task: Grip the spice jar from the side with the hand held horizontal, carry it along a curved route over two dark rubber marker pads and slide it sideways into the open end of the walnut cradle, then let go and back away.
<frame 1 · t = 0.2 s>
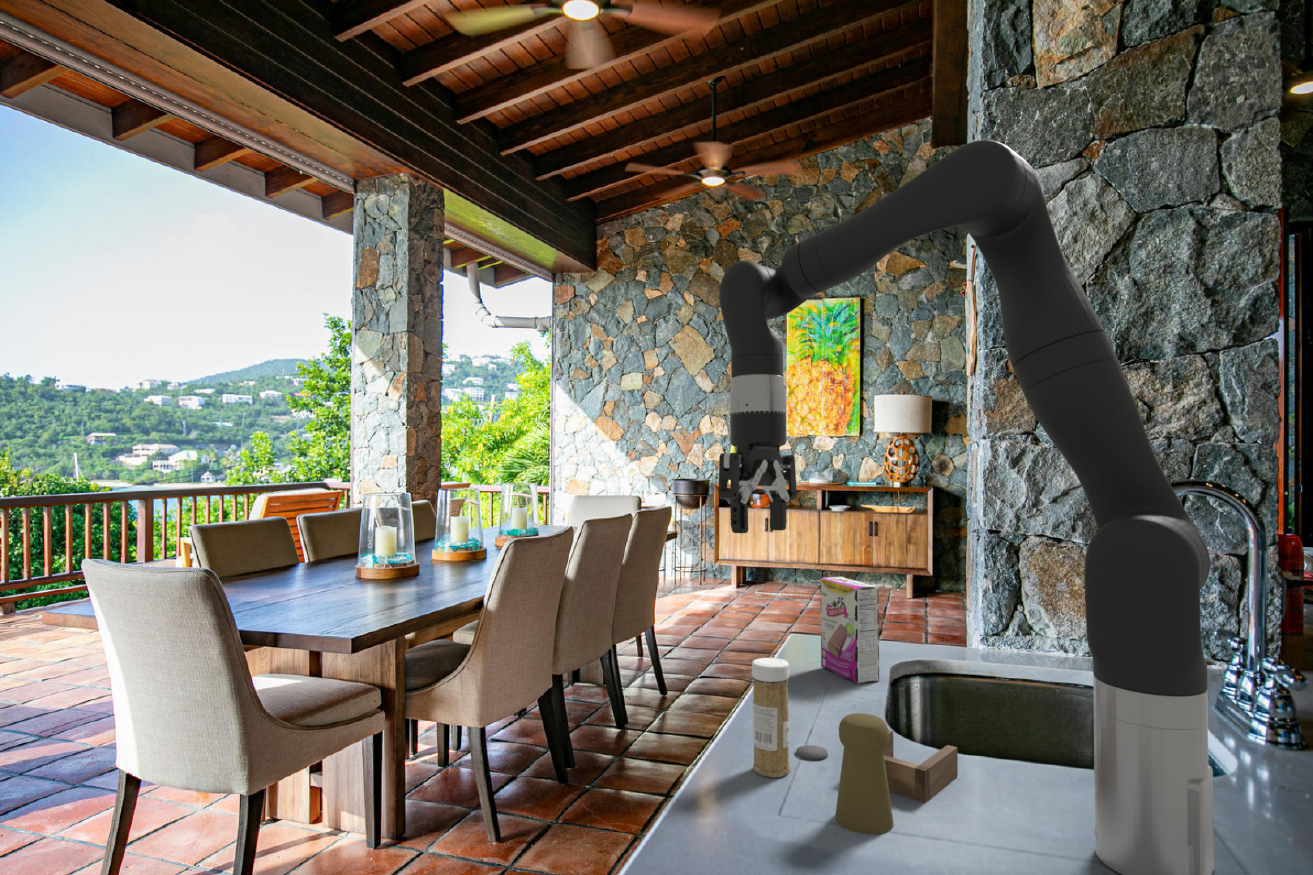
hand: (759, 531, 104), 29 cm above the counter, tool pointing down, fingers open, 8 cm apart
cradle: (903, 777, 94), on the counter
candy bar box: (849, 675, 137), on the counter
marker pad 2: (869, 750, 102), on the counter
cork: (864, 822, 83), on the counter
marker pad 1: (812, 754, 101), on the counter
spice jar: (771, 772, 96), on the counter
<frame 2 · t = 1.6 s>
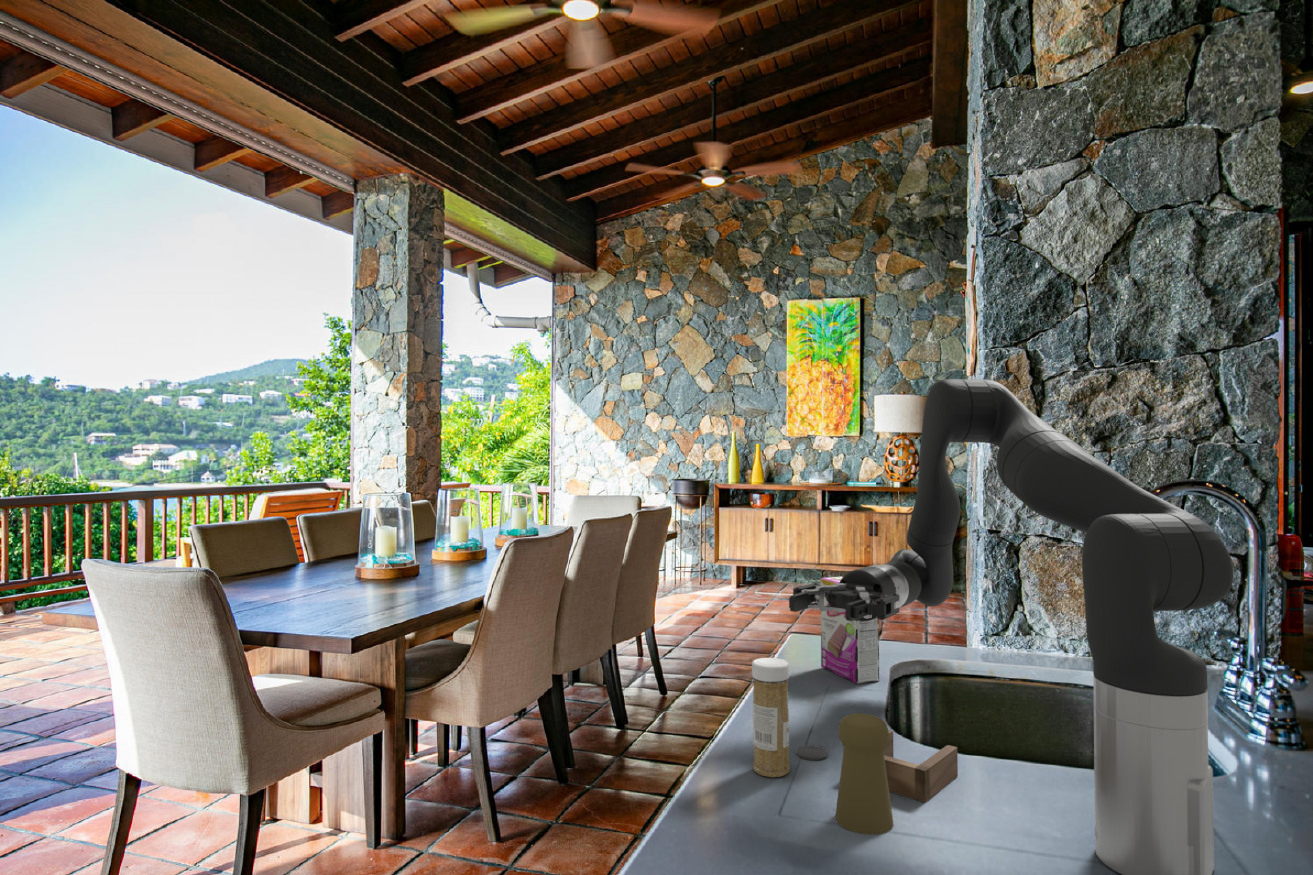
hand: (819, 608, 105), 18 cm above the counter, tool horizontal, fingers open, 8 cm apart
nothing on the counter moved.
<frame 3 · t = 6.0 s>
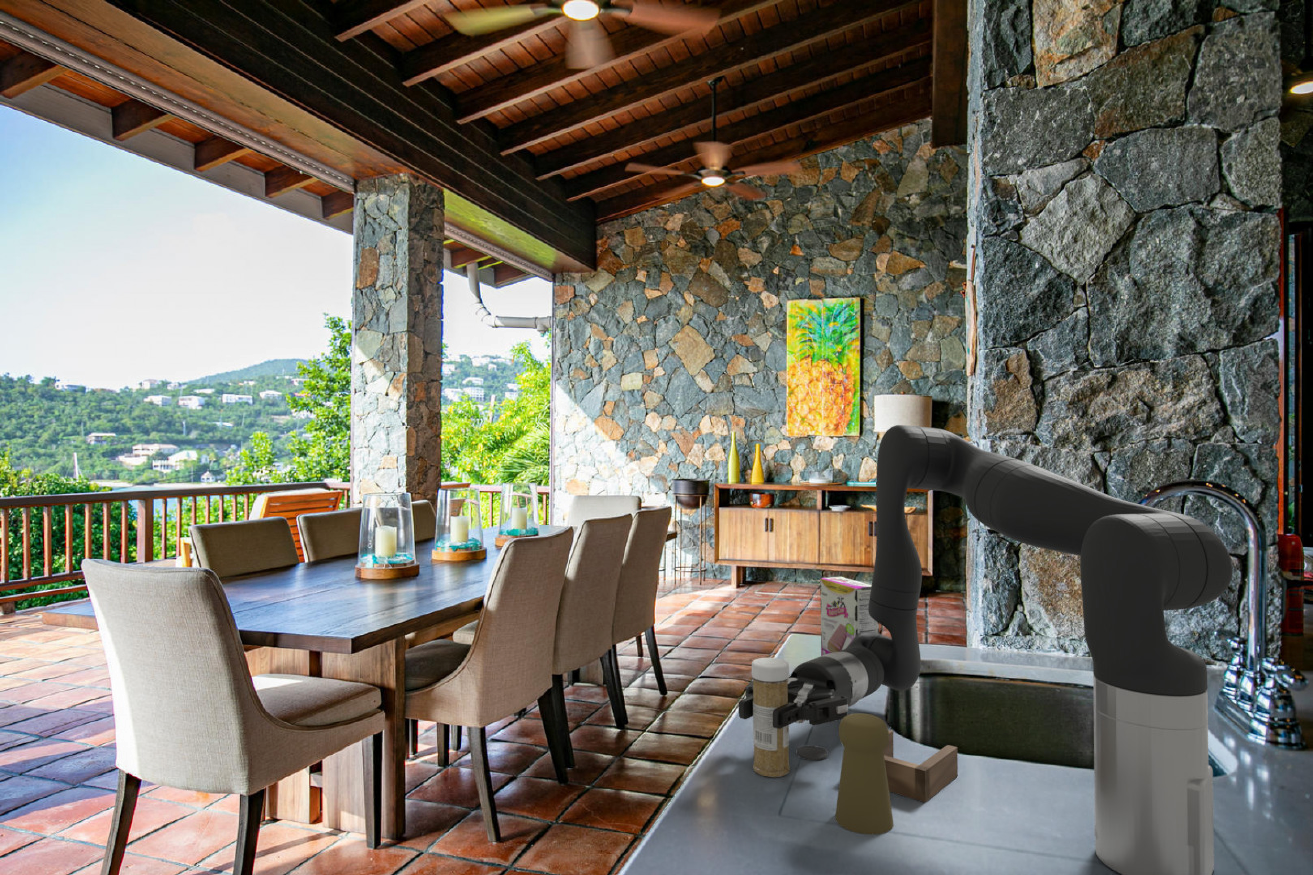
hand: (758, 714, 94), 8 cm above the counter, tool horizontal, fingers closed on spice jar, 4 cm apart
spice jar: (771, 772, 96), on the counter, touching gripper
everything else where it was.
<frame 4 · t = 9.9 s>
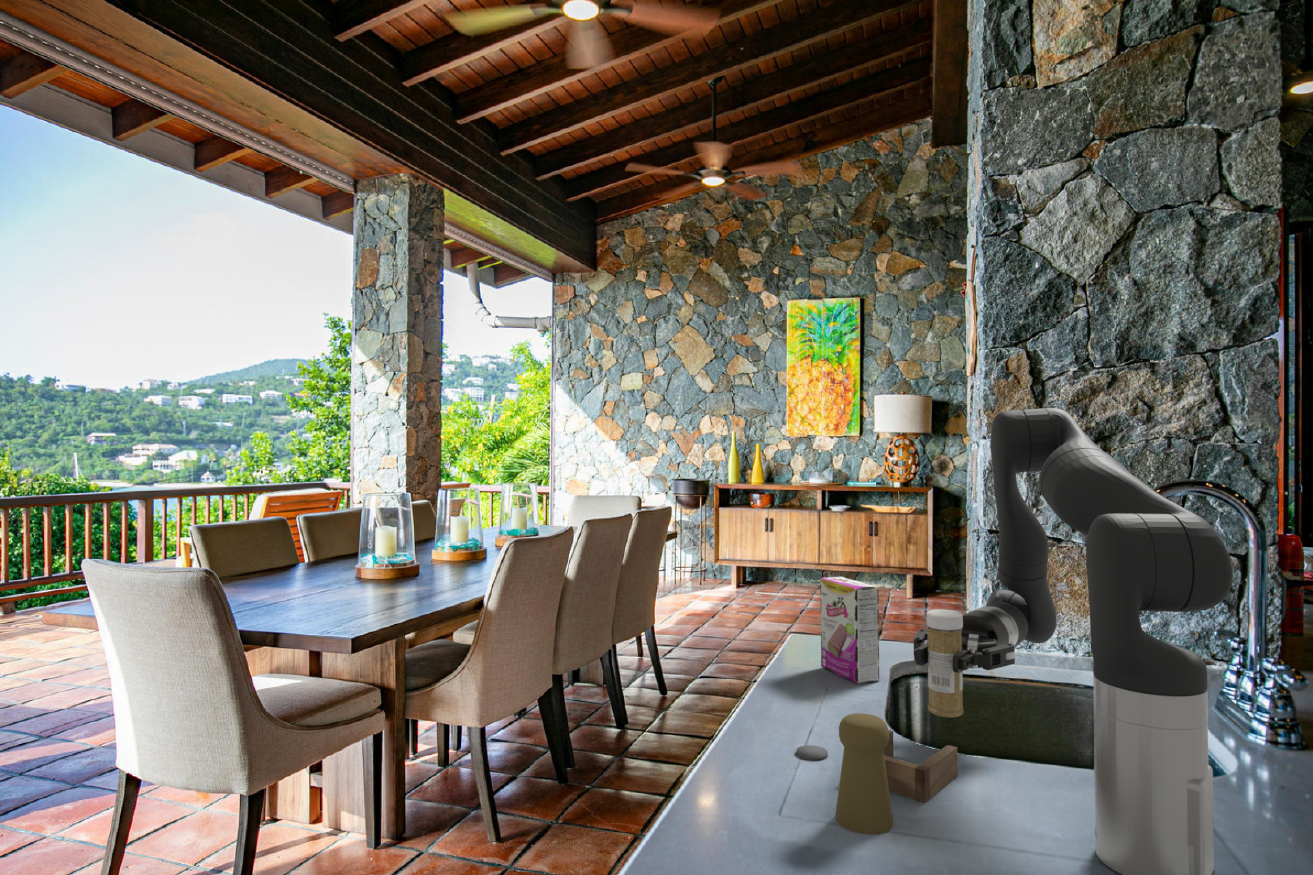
hand: (937, 661, 102), 12 cm above the counter, tool horizontal, fingers closed on spice jar, 4 cm apart
spice jar: (945, 713, 104), point 4 cm above the counter, touching gripper
everything else where it was.
when the fingers open (8 cm above the counter, at t = 13.9 s): spice jar stays where it is, resting in cradle.
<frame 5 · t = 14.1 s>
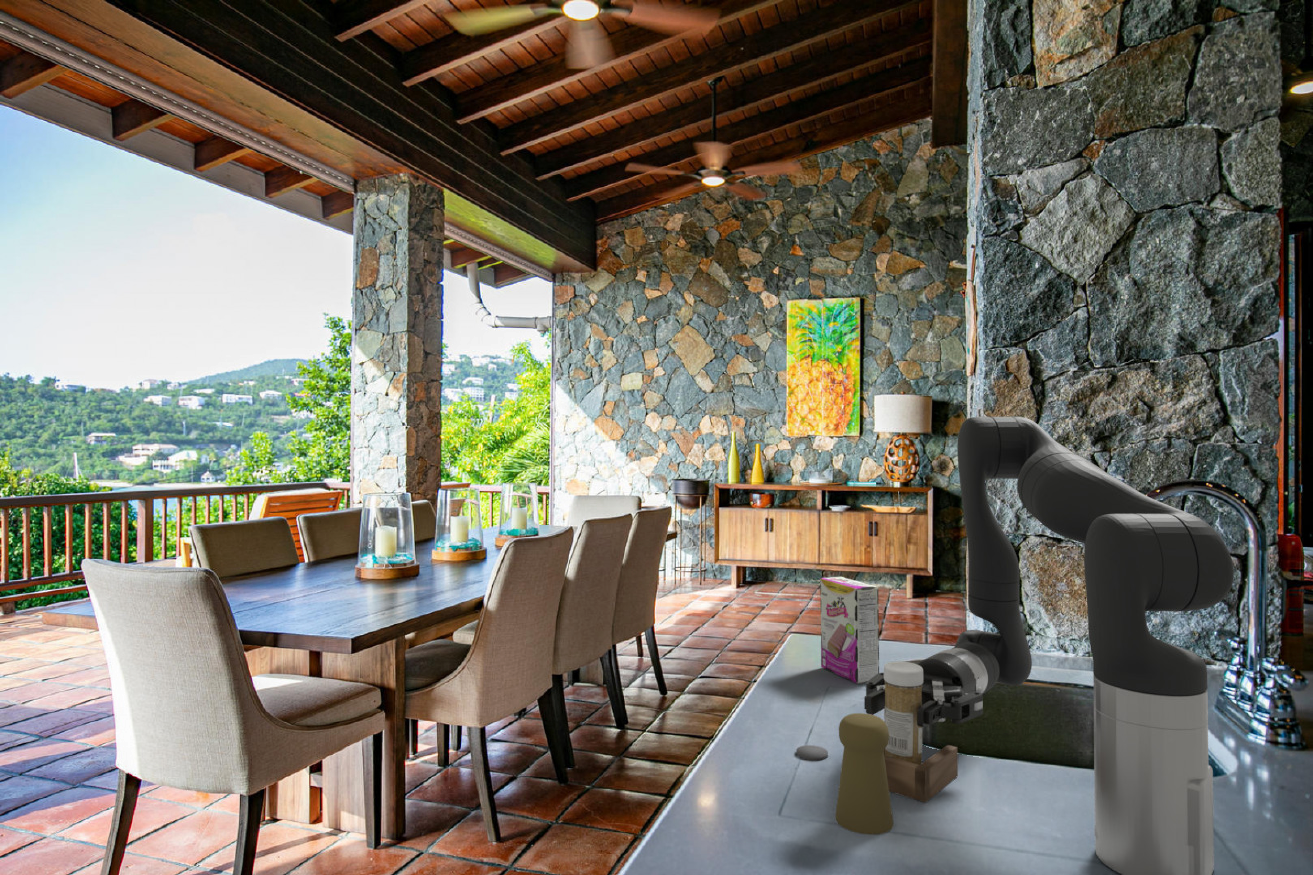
hand: (894, 711, 92), 8 cm above the counter, tool horizontal, fingers open, 6 cm apart
spice jar: (902, 778, 94), resting in cradle
everything else where it was.
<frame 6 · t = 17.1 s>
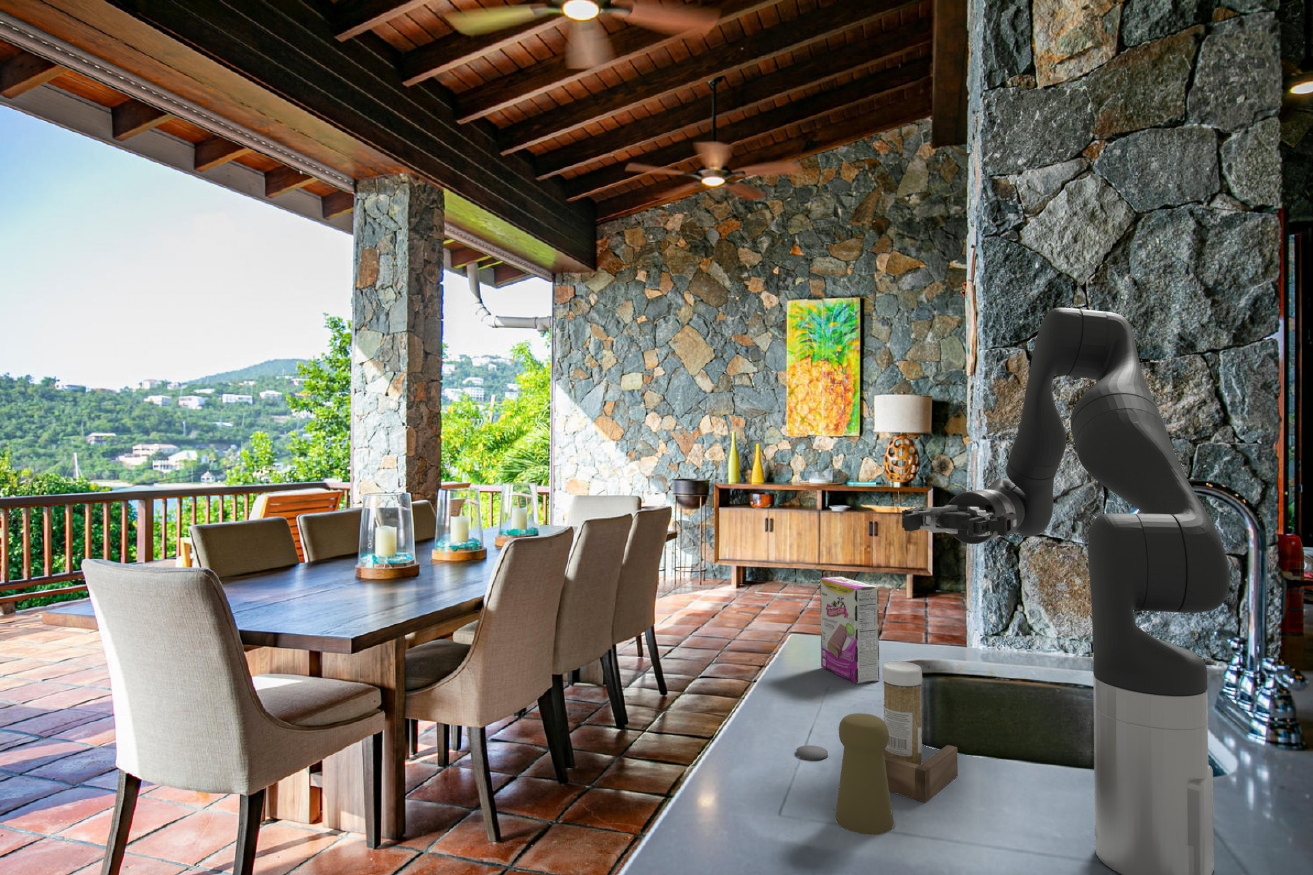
hand: (937, 525, 102), 30 cm above the counter, tool horizontal, fingers open, 8 cm apart
nothing on the counter moved.
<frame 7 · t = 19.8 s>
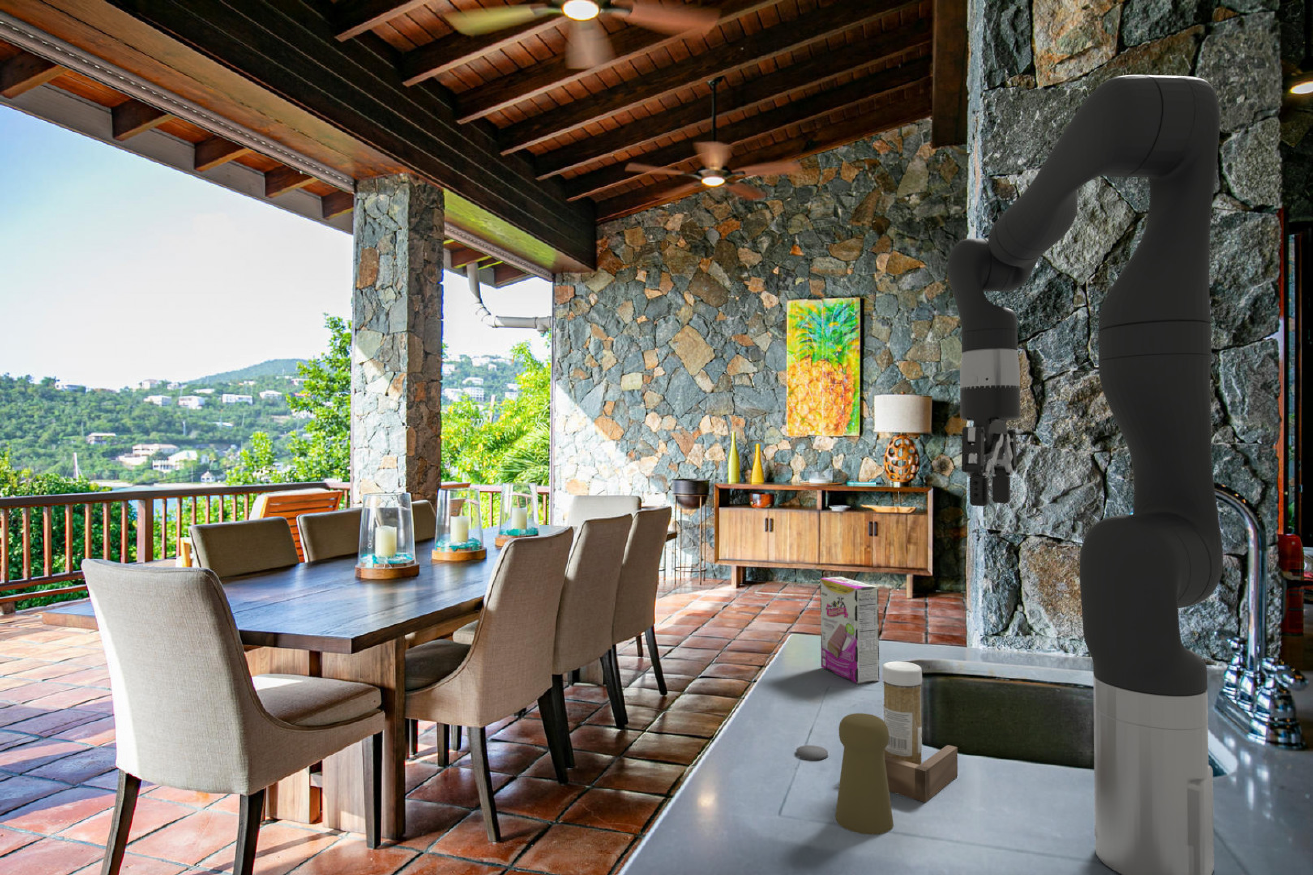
hand: (990, 504, 106), 32 cm above the counter, tool pointing down, fingers open, 8 cm apart
nothing on the counter moved.
at the end: spice jar inside the target area on the cradle (0.7 cm from its centre), point 0.0 cm above the cradle's base; spice jar tilted 0°; the gripper is holding nothing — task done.
